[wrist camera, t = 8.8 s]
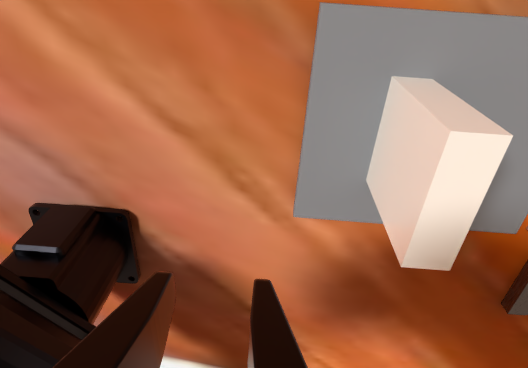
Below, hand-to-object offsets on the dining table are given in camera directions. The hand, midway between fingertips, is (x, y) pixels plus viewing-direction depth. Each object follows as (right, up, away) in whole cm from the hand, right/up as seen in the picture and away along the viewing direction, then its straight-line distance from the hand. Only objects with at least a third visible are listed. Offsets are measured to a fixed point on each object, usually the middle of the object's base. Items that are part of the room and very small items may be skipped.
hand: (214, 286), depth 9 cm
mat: (+11, +5, +10) cm, 16 cm away
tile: (+8, +5, +10) cm, 14 cm away
